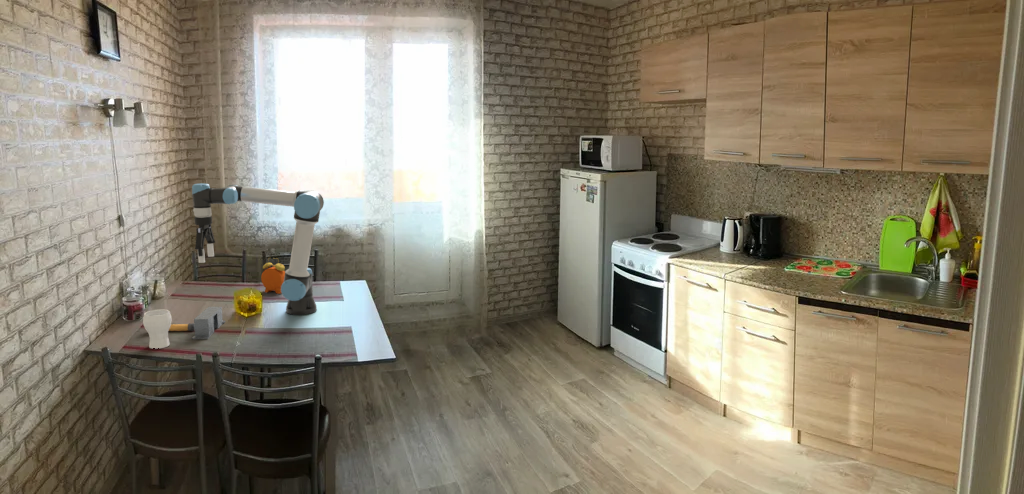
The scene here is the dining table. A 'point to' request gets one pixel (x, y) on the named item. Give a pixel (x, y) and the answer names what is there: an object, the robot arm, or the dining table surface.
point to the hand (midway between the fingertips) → (206, 259)
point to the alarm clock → (273, 277)
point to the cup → (157, 327)
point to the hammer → (182, 327)
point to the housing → (207, 322)
